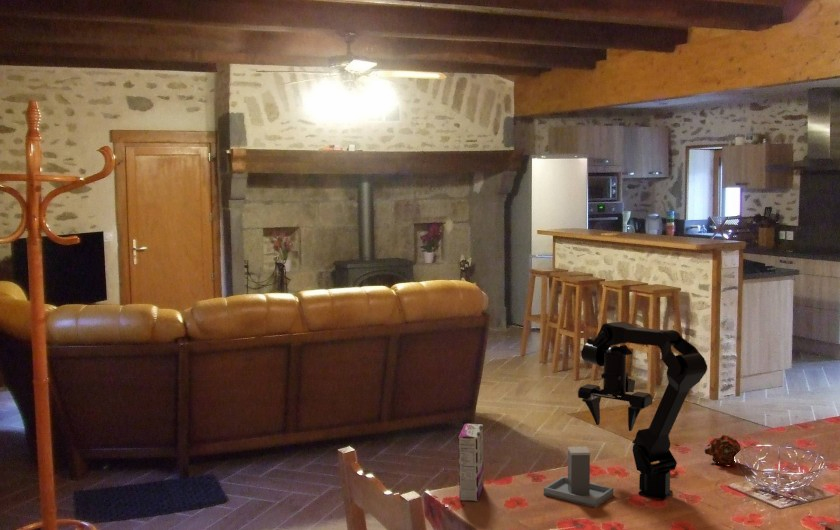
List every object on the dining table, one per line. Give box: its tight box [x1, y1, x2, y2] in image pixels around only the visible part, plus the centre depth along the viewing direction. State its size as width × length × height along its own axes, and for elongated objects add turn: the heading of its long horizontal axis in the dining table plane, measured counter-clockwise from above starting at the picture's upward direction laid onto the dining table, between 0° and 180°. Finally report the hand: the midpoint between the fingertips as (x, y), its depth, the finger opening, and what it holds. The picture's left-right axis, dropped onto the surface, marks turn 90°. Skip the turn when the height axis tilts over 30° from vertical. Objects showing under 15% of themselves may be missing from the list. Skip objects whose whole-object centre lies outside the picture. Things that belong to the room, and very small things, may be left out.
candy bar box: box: [457, 423, 485, 503], centre depth 203 cm, size 11×5×16 cm, turn 168°
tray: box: [543, 476, 614, 509], centre depth 201 cm, size 14×10×2 cm
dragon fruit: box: [703, 434, 742, 466], centre depth 223 cm, size 8×8×12 cm
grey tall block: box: [567, 445, 591, 496], centre depth 201 cm, size 5×5×11 cm
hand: (614, 427), depth 214 cm, fingers open, 9 cm apart
